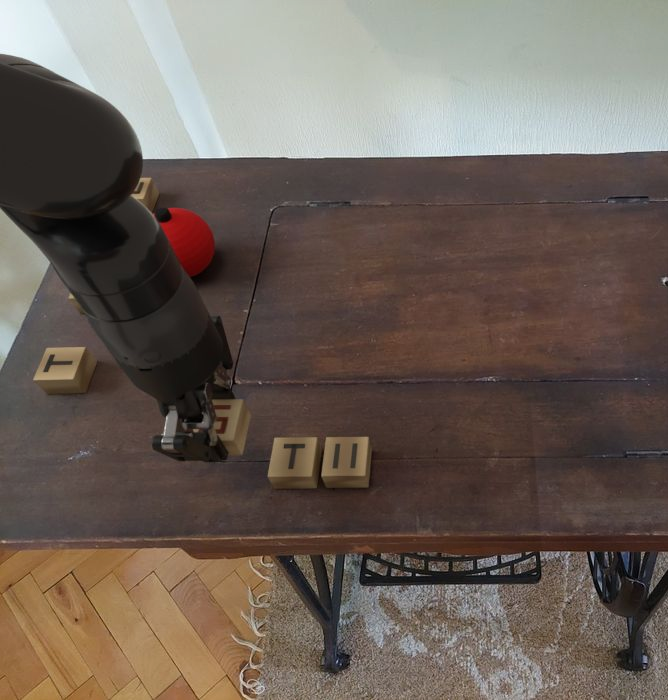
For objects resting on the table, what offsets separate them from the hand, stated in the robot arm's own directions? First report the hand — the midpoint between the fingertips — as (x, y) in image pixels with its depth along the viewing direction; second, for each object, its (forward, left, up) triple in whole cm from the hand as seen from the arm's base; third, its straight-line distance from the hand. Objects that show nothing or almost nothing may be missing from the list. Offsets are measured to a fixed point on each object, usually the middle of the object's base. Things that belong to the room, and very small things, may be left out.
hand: (222, 433), depth 63 cm
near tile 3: (+8, -8, -8) cm, 14 cm away
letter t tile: (-7, +25, -8) cm, 27 cm away
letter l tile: (+1, +33, -8) cm, 34 cm away
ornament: (+12, +30, -9) cm, 34 cm away
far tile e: (+14, +46, -8) cm, 49 cm away
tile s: (0, 0, 0) cm, 0 cm away
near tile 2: (+4, -4, -8) cm, 10 cm away
